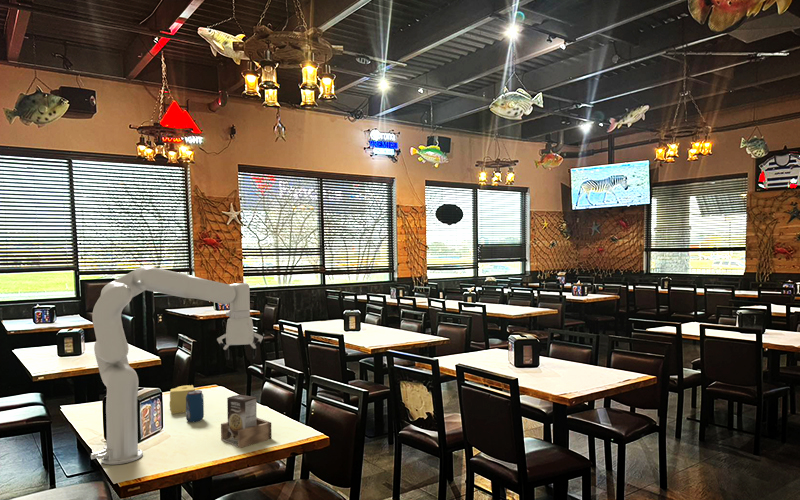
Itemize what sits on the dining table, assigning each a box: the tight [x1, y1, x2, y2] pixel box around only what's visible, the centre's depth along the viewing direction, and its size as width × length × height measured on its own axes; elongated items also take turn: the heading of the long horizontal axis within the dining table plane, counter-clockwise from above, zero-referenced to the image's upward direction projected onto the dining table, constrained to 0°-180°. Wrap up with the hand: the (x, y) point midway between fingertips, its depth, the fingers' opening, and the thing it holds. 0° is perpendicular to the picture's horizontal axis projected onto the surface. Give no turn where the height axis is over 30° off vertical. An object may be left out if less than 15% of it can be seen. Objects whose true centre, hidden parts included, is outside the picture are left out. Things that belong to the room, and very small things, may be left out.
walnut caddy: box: [220, 416, 273, 449], centre depth 204 cm, size 13×13×6 cm
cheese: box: [169, 384, 196, 415], centre depth 246 cm, size 10×11×10 cm
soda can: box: [185, 389, 205, 424], centre depth 229 cm, size 7×7×12 cm
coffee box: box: [226, 393, 258, 444], centre depth 203 cm, size 9×6×16 cm
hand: (240, 358), depth 212 cm, fingers open, 9 cm apart
